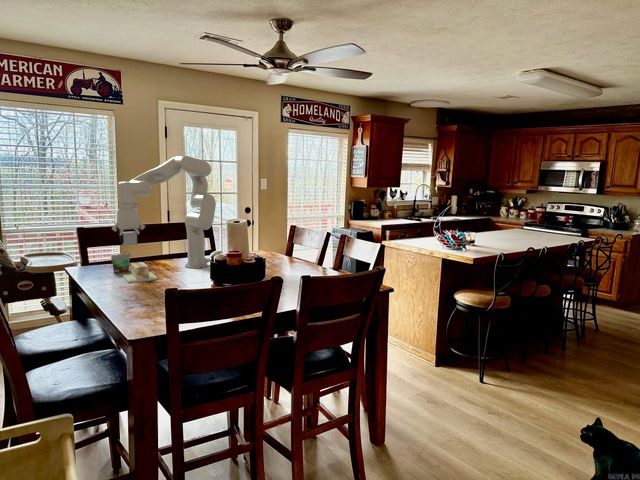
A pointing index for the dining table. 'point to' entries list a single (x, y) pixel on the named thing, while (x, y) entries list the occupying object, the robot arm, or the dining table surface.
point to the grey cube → (129, 238)
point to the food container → (121, 262)
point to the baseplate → (130, 279)
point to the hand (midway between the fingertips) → (129, 241)
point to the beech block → (139, 270)
